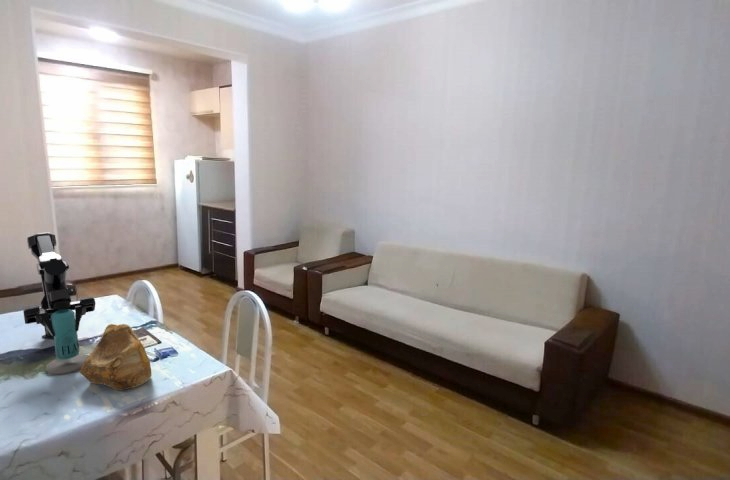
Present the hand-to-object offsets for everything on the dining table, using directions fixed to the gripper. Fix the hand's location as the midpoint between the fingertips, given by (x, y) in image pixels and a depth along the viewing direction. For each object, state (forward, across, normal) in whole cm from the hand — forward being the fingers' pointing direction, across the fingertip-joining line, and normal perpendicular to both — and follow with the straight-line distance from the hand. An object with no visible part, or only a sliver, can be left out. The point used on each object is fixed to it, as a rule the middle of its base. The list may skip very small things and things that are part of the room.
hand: (65, 333), depth 133 cm
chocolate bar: (+2, +23, +15) cm, 28 cm away
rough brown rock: (+21, +9, -5) cm, 24 cm away
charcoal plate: (+8, 0, +9) cm, 12 cm away
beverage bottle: (+6, 0, +8) cm, 10 cm away
